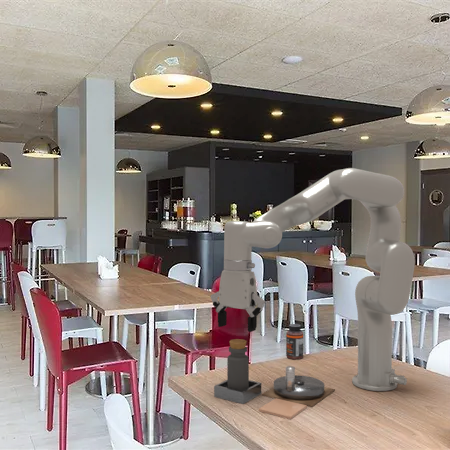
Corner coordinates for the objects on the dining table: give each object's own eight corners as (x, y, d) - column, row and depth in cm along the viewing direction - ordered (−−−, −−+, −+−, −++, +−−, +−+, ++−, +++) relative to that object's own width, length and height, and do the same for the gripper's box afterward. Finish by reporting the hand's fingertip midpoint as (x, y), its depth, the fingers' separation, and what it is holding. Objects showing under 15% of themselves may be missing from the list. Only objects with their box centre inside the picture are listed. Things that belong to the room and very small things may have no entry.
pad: (306, 407, 130) (306, 405, 130) (290, 419, 122) (290, 416, 122) (276, 400, 135) (276, 398, 135) (258, 411, 127) (258, 408, 127)
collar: (261, 393, 140) (261, 382, 140) (243, 404, 132) (243, 392, 132) (233, 387, 145) (233, 376, 145) (214, 396, 138) (214, 385, 138)
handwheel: (285, 379, 150) (285, 352, 150) (331, 387, 143) (331, 359, 143) (264, 393, 138) (264, 364, 138) (313, 403, 131) (313, 372, 130)
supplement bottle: (282, 356, 176) (282, 324, 176) (294, 354, 180) (294, 322, 179) (294, 360, 171) (294, 327, 171) (306, 357, 175) (307, 325, 175)
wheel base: (334, 390, 142) (334, 389, 142) (312, 407, 130) (312, 405, 130) (287, 380, 151) (287, 379, 151) (261, 395, 138) (261, 394, 138)
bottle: (246, 399, 135) (246, 344, 135) (225, 398, 136) (225, 343, 136) (250, 392, 141) (250, 338, 141) (229, 390, 142) (229, 337, 142)
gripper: (272, 267, 136) (271, 330, 136) (219, 263, 146) (219, 322, 146) (257, 269, 130) (256, 335, 130) (204, 265, 140) (203, 326, 140)
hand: (236, 328), depth 138 cm, fingers open, 9 cm apart
